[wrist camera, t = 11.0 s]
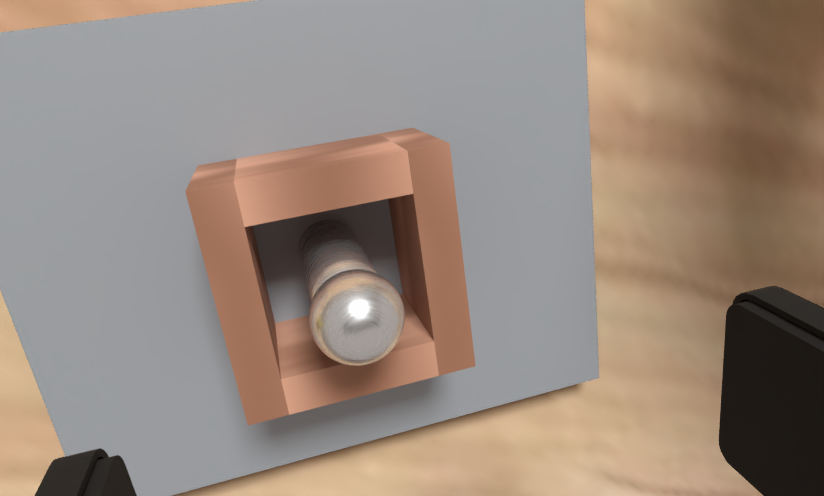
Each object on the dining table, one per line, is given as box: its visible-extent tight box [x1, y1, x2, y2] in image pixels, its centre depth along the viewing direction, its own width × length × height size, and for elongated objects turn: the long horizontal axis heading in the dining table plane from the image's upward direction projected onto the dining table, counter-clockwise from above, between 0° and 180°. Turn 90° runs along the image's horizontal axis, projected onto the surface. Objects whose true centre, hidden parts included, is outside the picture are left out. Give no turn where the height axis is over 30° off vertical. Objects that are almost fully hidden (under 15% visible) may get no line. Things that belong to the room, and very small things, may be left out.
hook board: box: [0, 0, 599, 496], centre depth 21 cm, size 20×16×2 cm
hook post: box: [298, 220, 405, 366], centre depth 17 cm, size 2×2×7 cm
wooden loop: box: [185, 128, 475, 425], centre depth 19 cm, size 7×7×4 cm
